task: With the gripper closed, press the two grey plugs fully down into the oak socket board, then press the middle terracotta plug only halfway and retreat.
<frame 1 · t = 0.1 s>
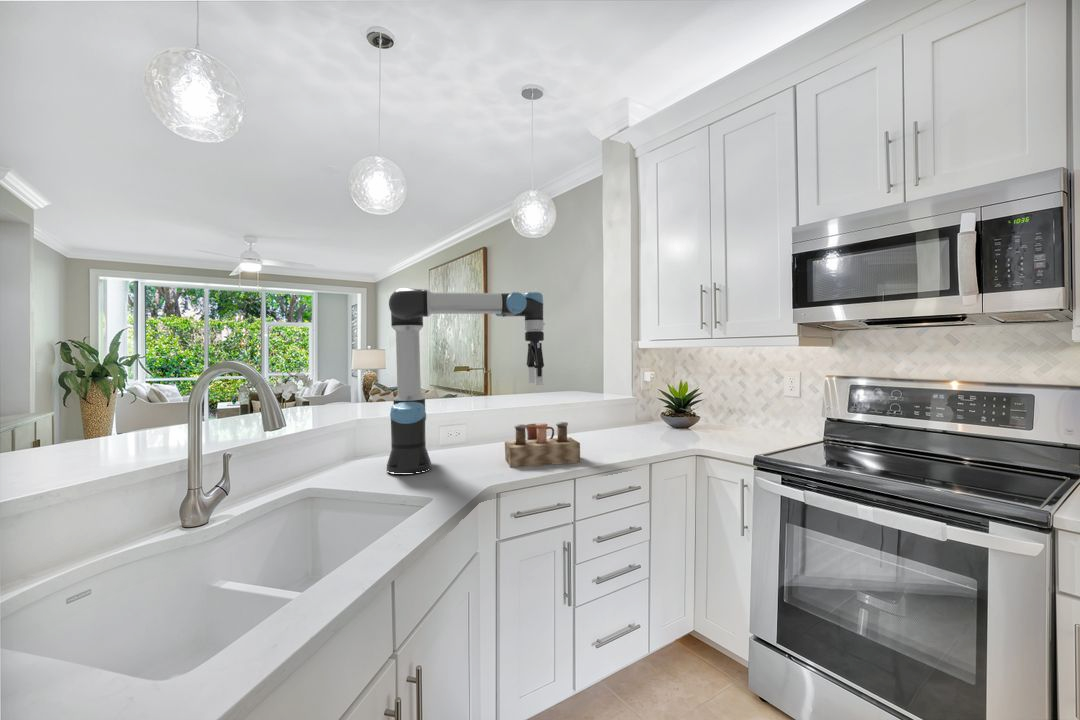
hand: (535, 384, 189), 28 cm above the worktop, fingers open, 13 cm apart
mug: (540, 450, 196), on the worktop
plug mid: (541, 435, 175), point 9 cm above the worktop, slide at 0.0 cm
plug far: (562, 434, 177), point 9 cm above the worktop, slide at 0.0 cm
plug near: (520, 437, 173), point 9 cm above the worktop, slide at 0.0 cm
socket board: (542, 460, 175), on the worktop
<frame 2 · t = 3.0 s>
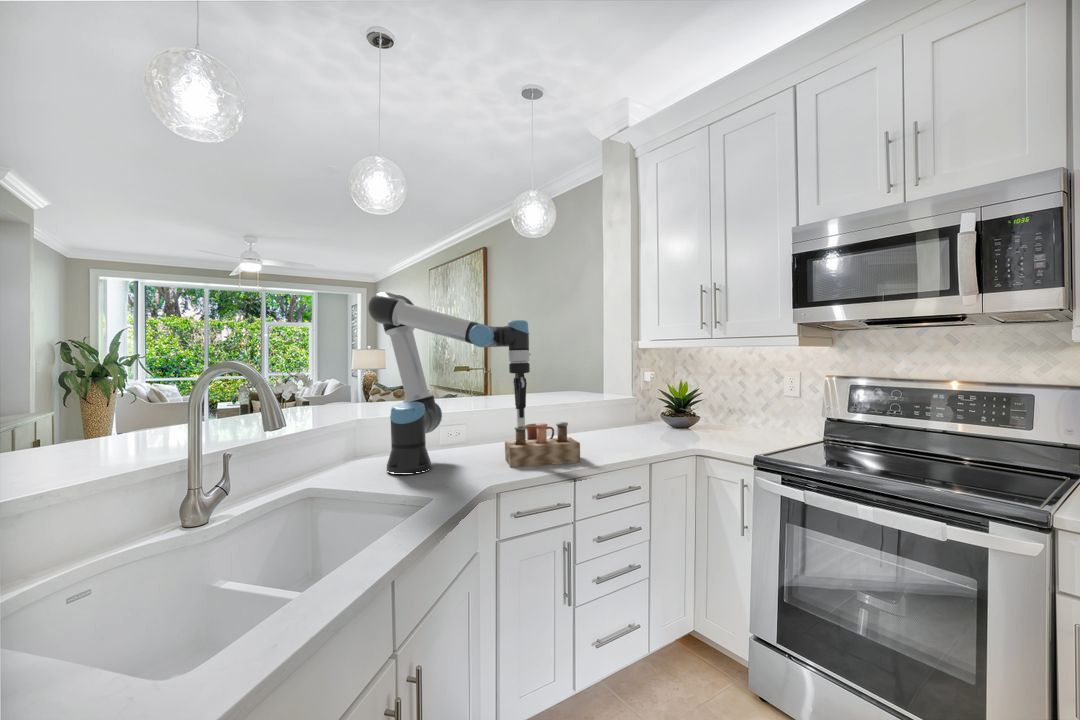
hand: (521, 426, 173), 14 cm above the worktop, fingers closed
plug near: (520, 438, 173), point 9 cm above the worktop, slide at 0.5 cm, touching gripper
everything else where it was.
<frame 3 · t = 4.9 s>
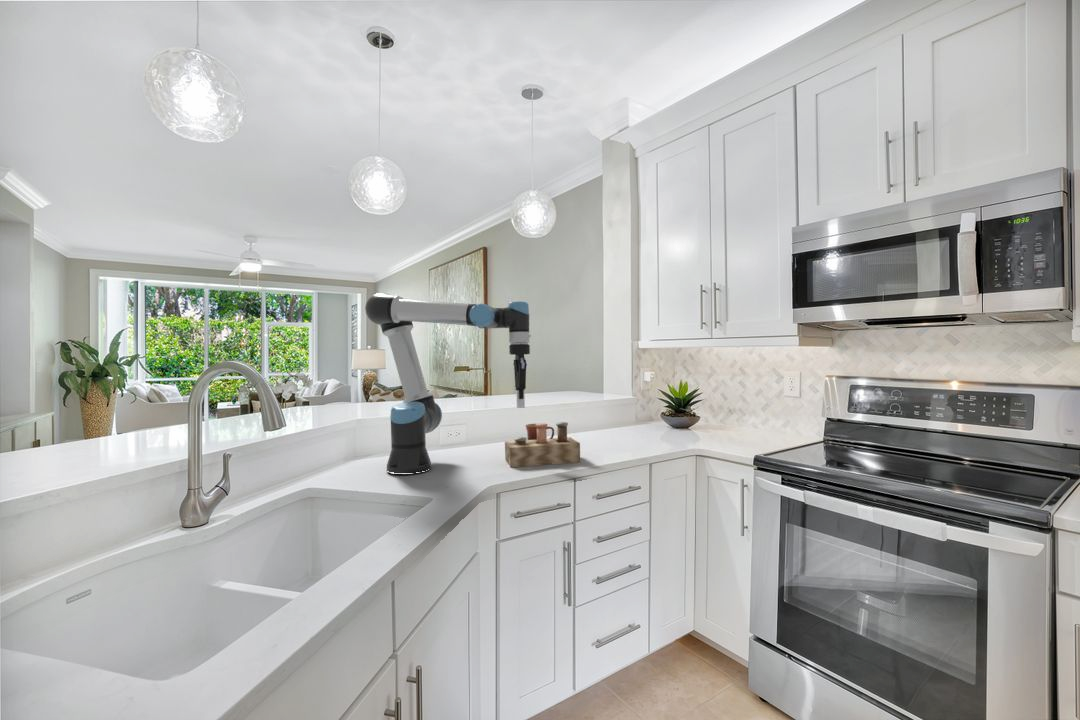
hand: (520, 407, 173), 20 cm above the worktop, fingers closed
plug near: (520, 450, 173), point 5 cm above the worktop, slide at 4.8 cm
everything else where it was.
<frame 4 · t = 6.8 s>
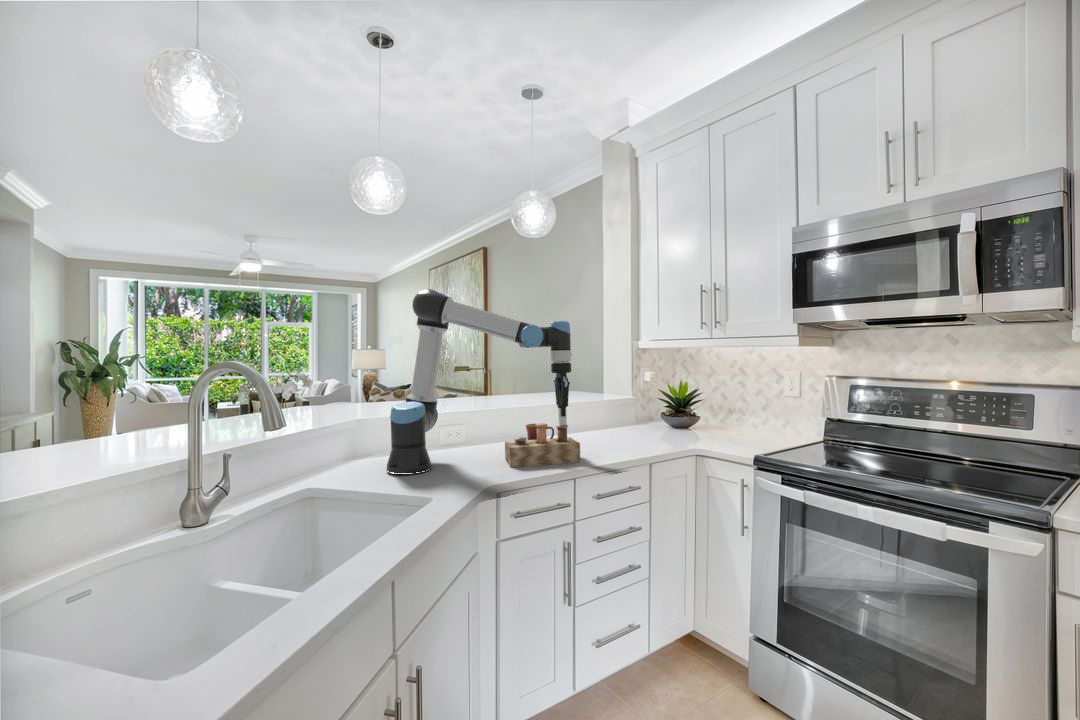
hand: (562, 424, 177), 13 cm above the worktop, fingers closed
plug far: (562, 436, 177), point 9 cm above the worktop, slide at 0.9 cm, touching gripper
everything else where it was.
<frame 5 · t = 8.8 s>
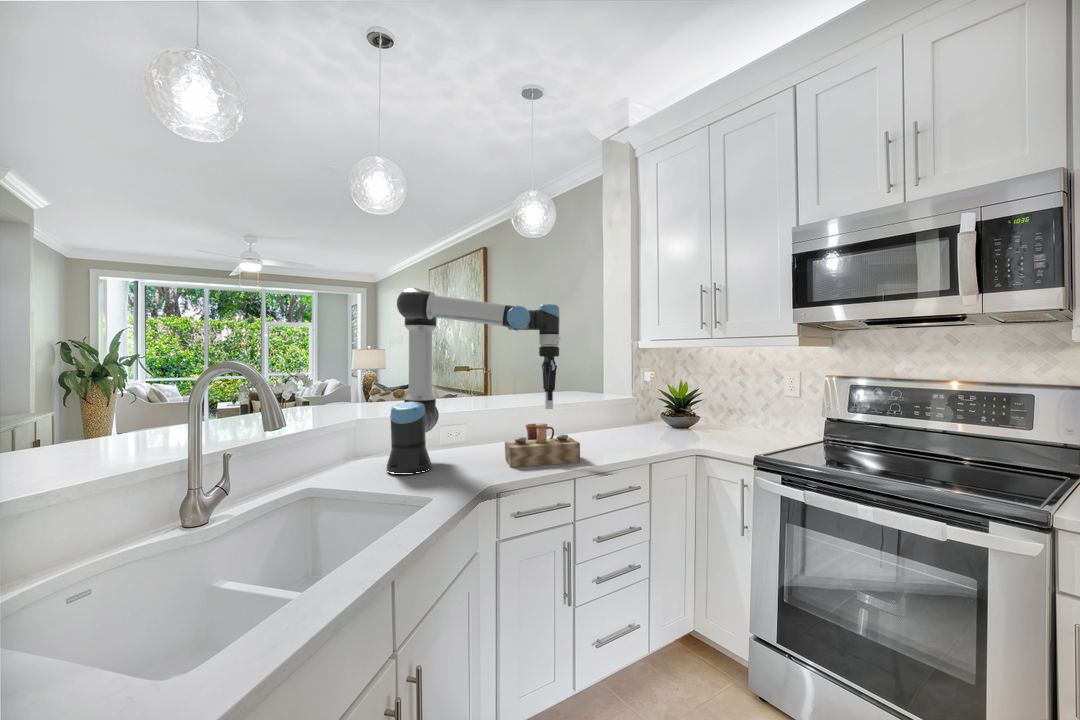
hand: (548, 408, 176), 19 cm above the worktop, fingers closed
plug far: (562, 447, 177), point 5 cm above the worktop, slide at 4.7 cm
everything else where it was.
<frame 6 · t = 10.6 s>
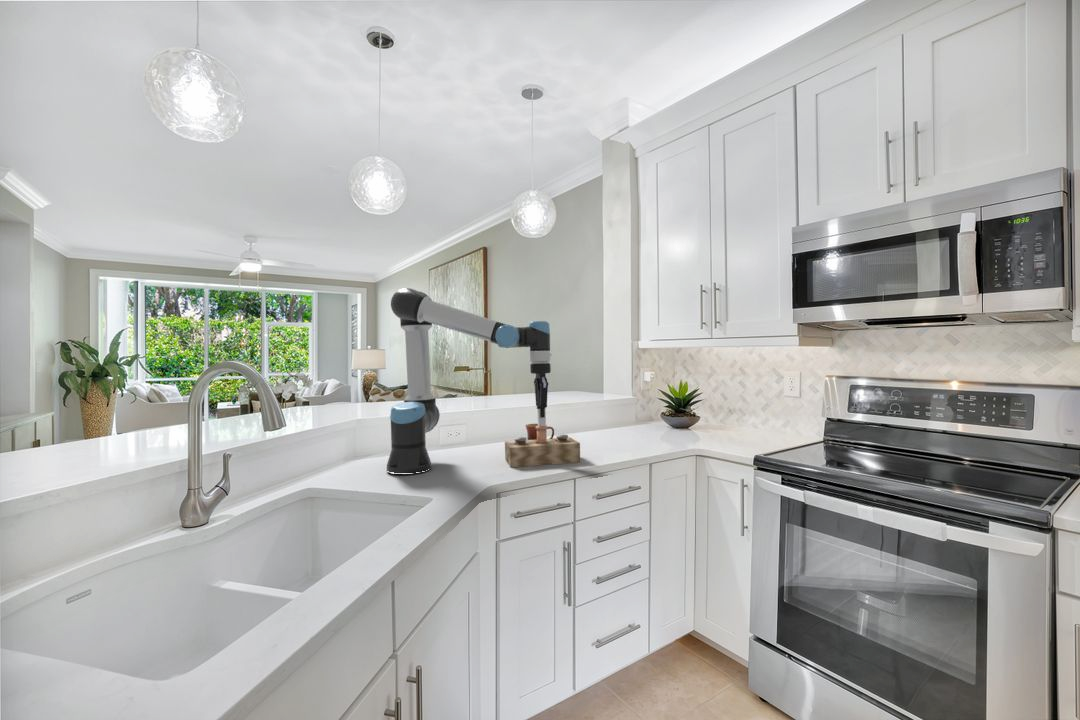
hand: (541, 425, 175), 13 cm above the worktop, fingers closed
plug mid: (541, 438, 175), point 9 cm above the worktop, slide at 0.9 cm, touching gripper
everything else where it was.
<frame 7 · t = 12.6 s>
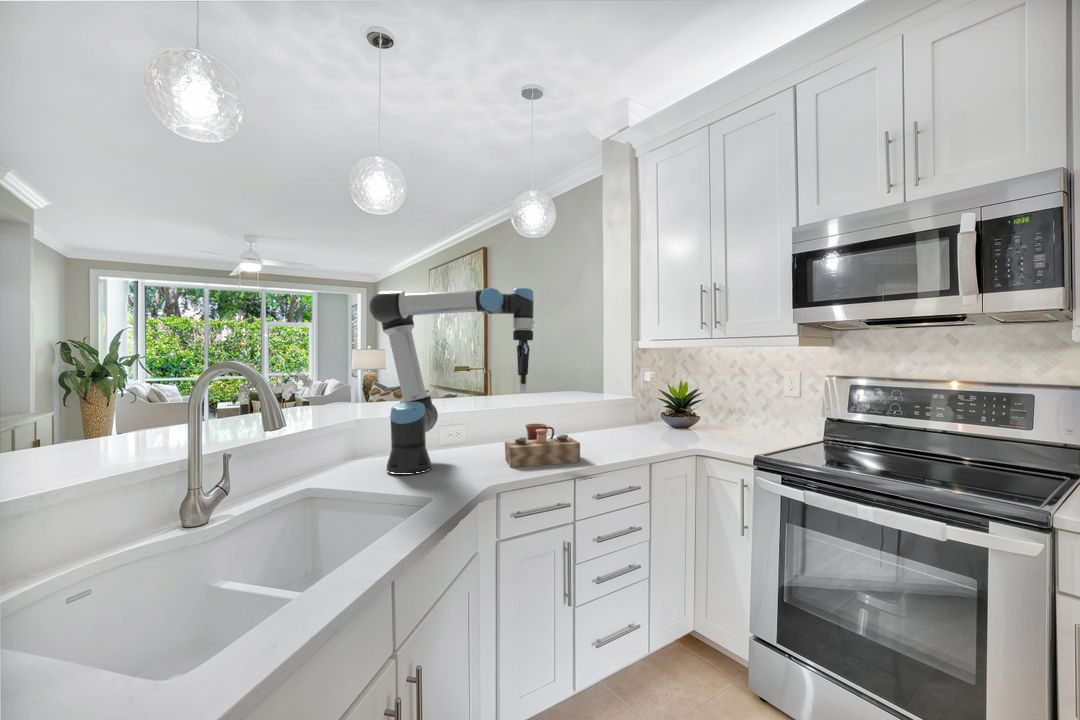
hand: (522, 392, 177), 26 cm above the worktop, fingers closed
plug mid: (541, 441, 175), point 7 cm above the worktop, slide at 2.1 cm
everything else where it was.
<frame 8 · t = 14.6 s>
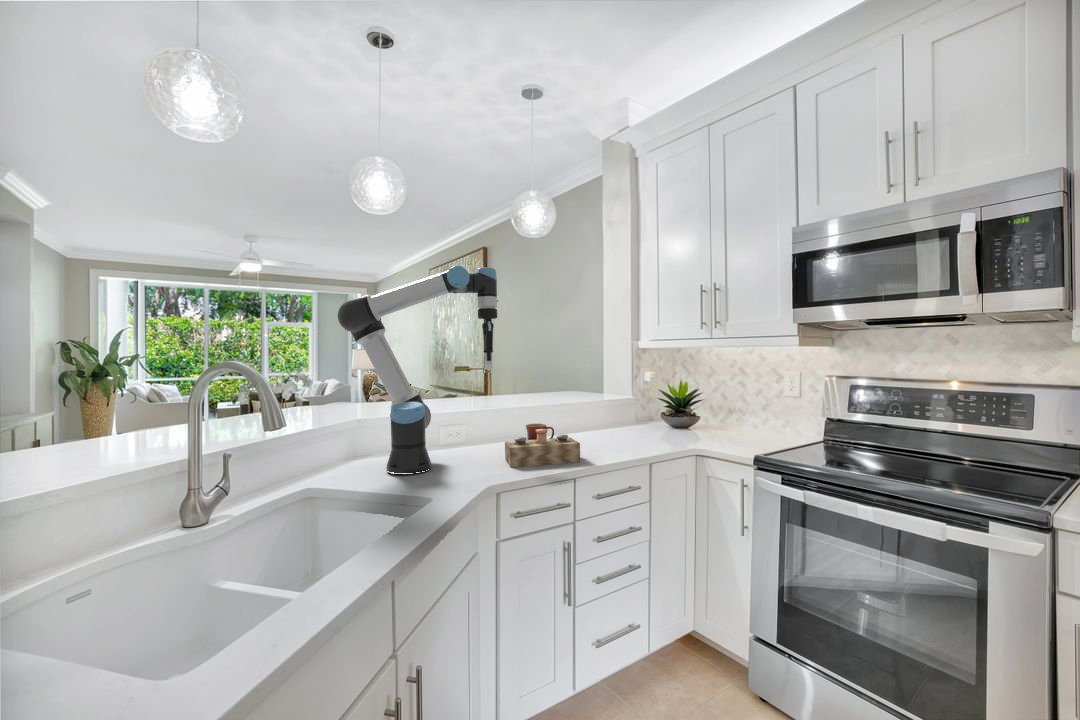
hand: (488, 369, 181), 34 cm above the worktop, fingers closed
nothing on the worktop moved.
at the end: plug near slide at 4.8 cm; plug far slide at 4.7 cm; plug mid slide at 2.1 cm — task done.
